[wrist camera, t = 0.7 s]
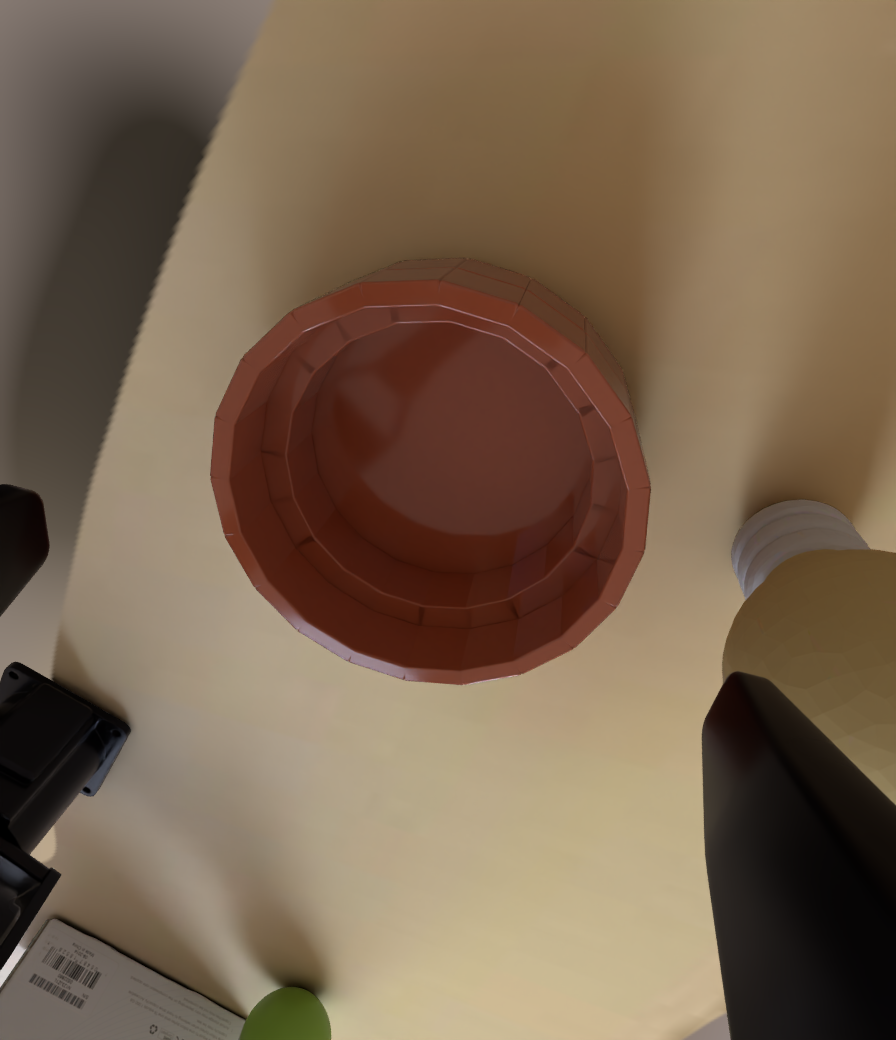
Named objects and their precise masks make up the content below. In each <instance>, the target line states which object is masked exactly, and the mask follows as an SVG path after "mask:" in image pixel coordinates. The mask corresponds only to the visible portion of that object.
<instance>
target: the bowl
mask: <svg viewBox="0 0 896 1040" xmlns="http://www.w3.org/2000/svg"><path fill="white" fill-rule="evenodd" d="M210 476H211V483H212V487H213V491H214V495H215V499H216V503H217V507H218V511H219V515H220V519H221V523H222V528H223V532H224V534H225V538H226V540H227V541H228V543H229V545H230V546H231V548H232V550H233V552H234V553H235V555H236V557H237V559H238V560H239V562H240V564H241V565H242V567H243V569H244V571H245V572H246V574H247V576H248V577H249V579H250V581H251V583H252V584H253V586H254V587H256V590H257V591H258V592H259V593H260V594H261V595H262V596H263V597H264V598H265V599H266V600H267V601H268V602H269V603H270V604H271V605H272V606H273V607H274V608H275V609H276V610H277V611H278V612H279V613H280V614H281V615H282V616H283V617H284V618H285V619H286V620H287V621H288V622H289V623H290V624H291V625H292V626H293V627H294V628H295V629H296V630H297V629H298V632H300V633H302V634H303V635H305V636H307V637H308V638H310V639H312V640H313V641H315V642H316V643H318V644H320V645H321V646H323V647H325V648H326V649H328V650H329V651H331V652H333V653H334V654H336V655H338V656H339V657H341V658H343V659H344V660H346V661H349V662H351V663H354V664H357V665H360V666H363V667H366V668H369V669H372V670H375V671H378V672H381V673H384V674H387V675H390V676H393V677H396V678H399V679H402V680H404V679H405V680H406V681H417V682H430V683H443V684H455V685H463V684H464V685H467V684H473V683H478V682H484V681H490V680H495V679H501V678H507V677H512V676H518V675H521V673H522V674H524V673H526V672H528V671H530V670H532V669H534V668H536V667H538V666H540V665H542V664H544V663H546V662H548V661H550V660H552V659H554V658H557V657H559V656H561V655H563V654H565V653H567V652H569V651H571V650H573V648H575V647H577V646H578V645H579V644H580V643H581V642H582V641H583V640H584V639H585V638H586V637H587V636H588V635H589V634H590V633H591V632H592V631H593V630H594V629H595V628H596V627H597V626H598V625H599V624H600V623H602V622H603V621H604V620H605V619H606V618H607V617H608V616H609V615H610V614H611V613H612V612H613V611H614V610H615V609H616V607H617V606H618V605H619V603H620V601H621V599H622V597H623V595H624V593H625V591H626V589H627V587H628V585H629V583H630V581H631V579H632V577H633V575H634V573H635V571H636V569H637V567H638V565H639V563H640V561H641V559H642V557H643V554H644V550H645V546H646V535H647V525H648V514H649V503H650V493H651V486H650V484H651V483H650V478H649V474H648V469H647V465H646V460H645V456H644V452H643V447H642V442H641V438H640V433H639V429H638V425H637V421H636V417H635V414H634V410H633V406H632V403H631V399H630V395H629V392H628V388H627V384H626V381H625V377H624V373H623V371H622V368H621V367H620V365H619V364H618V362H617V361H616V359H615V358H614V356H613V355H612V354H611V352H610V351H609V349H608V348H607V346H606V345H605V343H604V342H603V341H602V339H601V338H600V336H599V335H598V333H597V332H596V331H595V329H594V328H593V326H592V325H591V323H590V322H589V320H588V319H587V318H586V317H585V318H584V316H583V314H581V313H580V312H579V311H577V310H576V309H574V308H573V307H572V306H570V305H569V304H568V303H566V302H565V301H563V300H562V299H561V298H559V297H558V296H557V295H555V294H554V293H552V292H551V291H550V290H548V289H547V288H546V287H544V286H543V285H541V284H540V283H539V282H537V281H536V280H535V279H531V278H530V277H529V276H526V275H522V274H519V273H516V272H513V271H509V270H506V269H503V268H499V267H496V266H493V265H490V264H486V263H483V262H480V261H477V260H473V259H466V258H448V259H424V260H405V261H403V262H402V261H400V262H397V263H395V264H392V265H390V266H388V267H385V268H383V269H380V270H378V271H376V272H373V273H371V274H368V275H366V276H363V277H361V278H359V279H356V280H354V281H351V282H349V283H347V284H345V285H342V286H340V287H338V288H336V289H334V290H332V291H330V292H328V293H326V294H324V295H322V296H320V297H318V298H316V299H313V300H311V301H309V302H307V303H305V304H303V305H301V306H299V307H297V308H295V309H293V310H292V311H290V312H289V313H288V314H287V315H286V316H285V317H283V318H282V319H281V320H280V321H279V322H278V323H277V324H276V325H275V326H274V327H273V328H272V329H271V330H270V331H269V332H268V333H267V334H266V335H265V336H264V337H262V338H261V339H260V340H259V341H258V342H257V343H256V344H255V345H254V346H253V347H252V348H251V349H250V350H249V351H248V352H247V353H246V354H245V355H244V356H243V358H242V359H241V360H240V362H239V365H238V367H237V369H236V371H235V373H234V375H233V377H232V380H231V382H230V384H229V386H228V388H227V390H226V393H225V395H224V397H223V399H222V401H221V403H220V405H219V408H218V410H217V412H216V416H215V422H214V434H213V447H212V459H211V472H210Z"/></svg>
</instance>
